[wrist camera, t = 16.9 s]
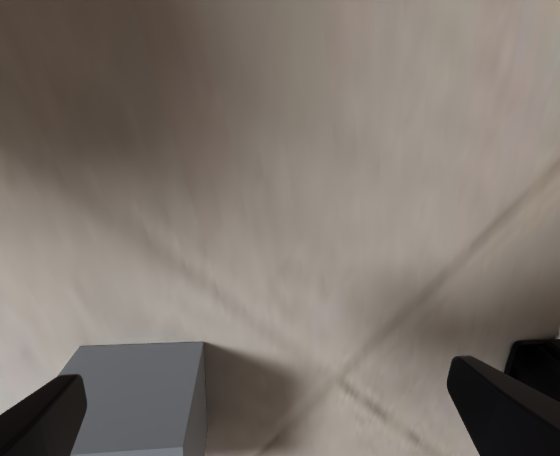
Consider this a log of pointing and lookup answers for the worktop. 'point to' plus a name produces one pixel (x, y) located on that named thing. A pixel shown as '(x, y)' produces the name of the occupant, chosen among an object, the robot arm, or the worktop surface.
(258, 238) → the worktop surface
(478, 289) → the worktop surface
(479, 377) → the robot arm
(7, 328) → the worktop surface
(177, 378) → the plain gray cube
